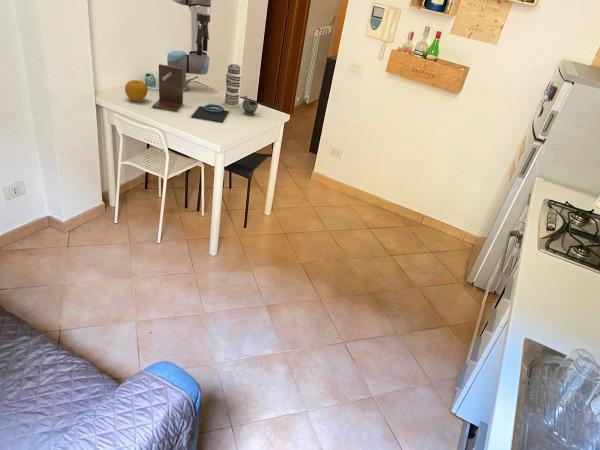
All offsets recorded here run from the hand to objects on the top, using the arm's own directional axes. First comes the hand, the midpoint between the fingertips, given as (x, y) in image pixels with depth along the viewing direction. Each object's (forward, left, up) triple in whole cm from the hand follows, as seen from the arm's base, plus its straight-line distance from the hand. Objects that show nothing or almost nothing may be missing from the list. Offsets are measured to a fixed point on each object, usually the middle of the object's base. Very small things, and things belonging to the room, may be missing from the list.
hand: (202, 53), depth 255 cm
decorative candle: (-9, +18, -31) cm, 37 cm away
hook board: (+14, -16, -31) cm, 37 cm away
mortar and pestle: (+3, +31, -31) cm, 44 cm away
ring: (+9, +10, -29) cm, 32 cm away
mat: (+16, +10, -31) cm, 36 cm away
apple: (+13, -35, -31) cm, 48 cm away
